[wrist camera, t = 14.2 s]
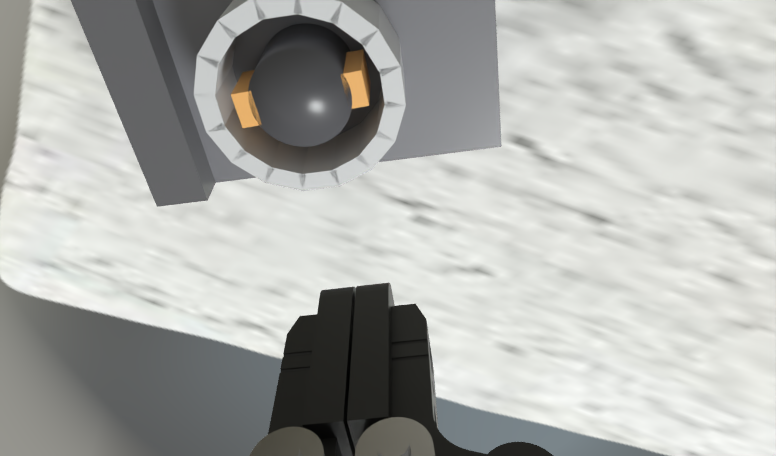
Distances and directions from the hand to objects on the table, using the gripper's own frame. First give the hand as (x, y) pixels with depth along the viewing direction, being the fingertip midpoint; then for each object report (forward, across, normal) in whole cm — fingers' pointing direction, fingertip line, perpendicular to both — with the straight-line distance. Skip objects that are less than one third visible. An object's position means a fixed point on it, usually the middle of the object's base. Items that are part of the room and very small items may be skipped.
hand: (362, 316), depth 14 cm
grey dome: (+22, +4, +2) cm, 22 cm away
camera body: (+29, +4, +2) cm, 29 cm away
